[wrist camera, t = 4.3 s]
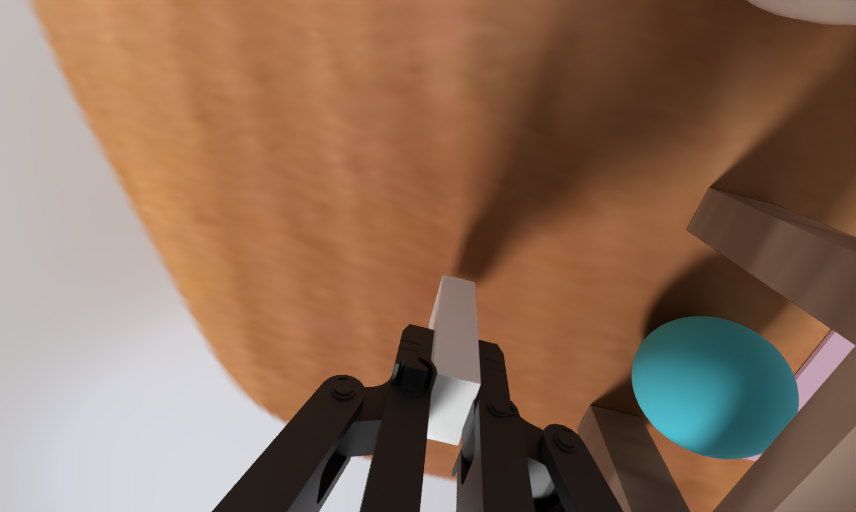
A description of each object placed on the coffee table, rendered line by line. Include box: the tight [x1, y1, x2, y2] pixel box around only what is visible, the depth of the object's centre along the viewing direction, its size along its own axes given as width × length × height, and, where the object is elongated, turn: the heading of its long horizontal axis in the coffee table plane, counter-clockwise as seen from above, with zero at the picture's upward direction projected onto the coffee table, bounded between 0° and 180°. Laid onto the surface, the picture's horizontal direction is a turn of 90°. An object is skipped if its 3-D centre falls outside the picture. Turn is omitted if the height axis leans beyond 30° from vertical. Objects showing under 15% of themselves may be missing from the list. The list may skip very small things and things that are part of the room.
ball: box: [632, 316, 799, 459], centre depth 18 cm, size 6×6×6 cm
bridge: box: [577, 188, 856, 512], centre depth 16 cm, size 3×15×10 cm, turn 167°
